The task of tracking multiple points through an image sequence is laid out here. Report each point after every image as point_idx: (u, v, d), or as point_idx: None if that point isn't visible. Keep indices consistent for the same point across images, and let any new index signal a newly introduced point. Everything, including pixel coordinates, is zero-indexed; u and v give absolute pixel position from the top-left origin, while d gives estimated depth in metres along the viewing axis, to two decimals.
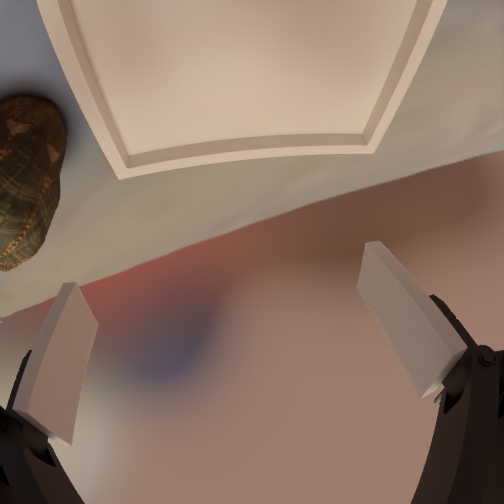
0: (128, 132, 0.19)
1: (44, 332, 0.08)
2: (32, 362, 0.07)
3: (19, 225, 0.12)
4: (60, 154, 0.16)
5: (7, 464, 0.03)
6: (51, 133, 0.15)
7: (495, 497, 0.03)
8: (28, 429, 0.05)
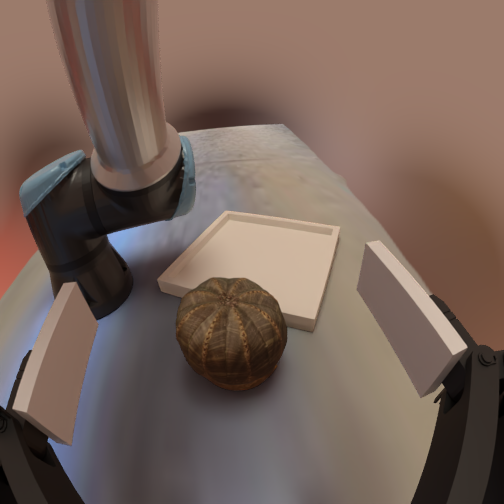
0: None
1: (44, 333, 0.08)
2: (32, 362, 0.07)
3: None
4: None
5: (7, 464, 0.03)
6: None
7: (495, 497, 0.03)
8: (28, 429, 0.05)
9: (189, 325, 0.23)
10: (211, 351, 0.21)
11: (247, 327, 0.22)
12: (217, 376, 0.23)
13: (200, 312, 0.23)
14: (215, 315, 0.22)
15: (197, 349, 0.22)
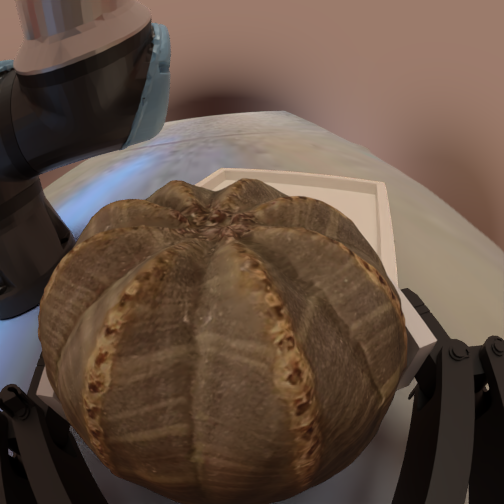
0: None
1: None
2: None
3: None
4: None
5: (26, 453, 0.04)
6: None
7: (483, 496, 0.03)
8: (51, 415, 0.06)
9: (51, 316, 0.04)
10: (124, 450, 0.03)
11: (310, 327, 0.04)
12: (180, 502, 0.04)
13: (89, 261, 0.05)
14: (141, 269, 0.04)
15: (76, 422, 0.04)
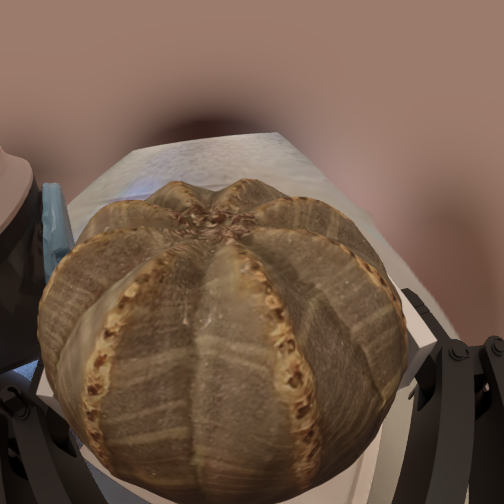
0: None
1: None
2: None
3: None
4: None
5: (26, 453, 0.04)
6: None
7: (482, 496, 0.03)
8: (51, 416, 0.06)
9: (50, 318, 0.04)
10: (124, 452, 0.03)
11: (311, 330, 0.04)
12: None
13: (88, 262, 0.05)
14: (140, 270, 0.04)
15: (75, 424, 0.04)
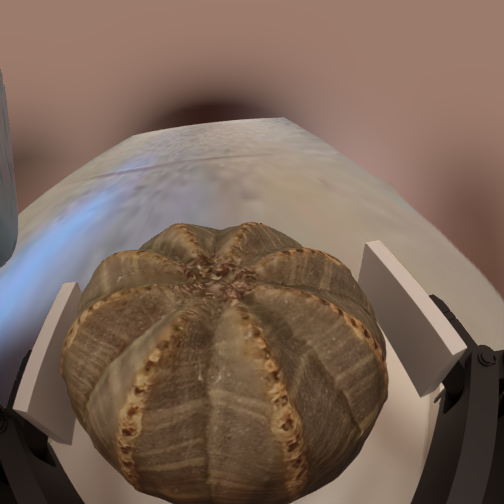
0: None
1: (44, 332, 0.08)
2: (32, 362, 0.07)
3: None
4: None
5: (7, 464, 0.03)
6: None
7: (495, 497, 0.03)
8: (28, 429, 0.05)
9: (77, 365, 0.05)
10: (152, 476, 0.04)
11: (301, 384, 0.05)
12: None
13: (109, 320, 0.05)
14: (160, 336, 0.05)
15: (106, 453, 0.04)
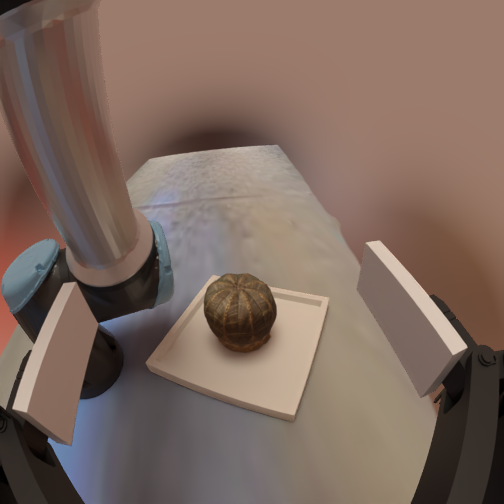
0: (270, 400, 0.35)
1: (44, 332, 0.08)
2: (32, 362, 0.07)
3: None
4: None
5: (7, 464, 0.03)
6: None
7: (495, 497, 0.03)
8: (28, 429, 0.05)
9: (214, 302, 0.37)
10: (229, 317, 0.36)
11: (251, 302, 0.37)
12: (232, 336, 0.37)
13: (221, 294, 0.37)
14: (231, 295, 0.37)
15: (220, 317, 0.36)
